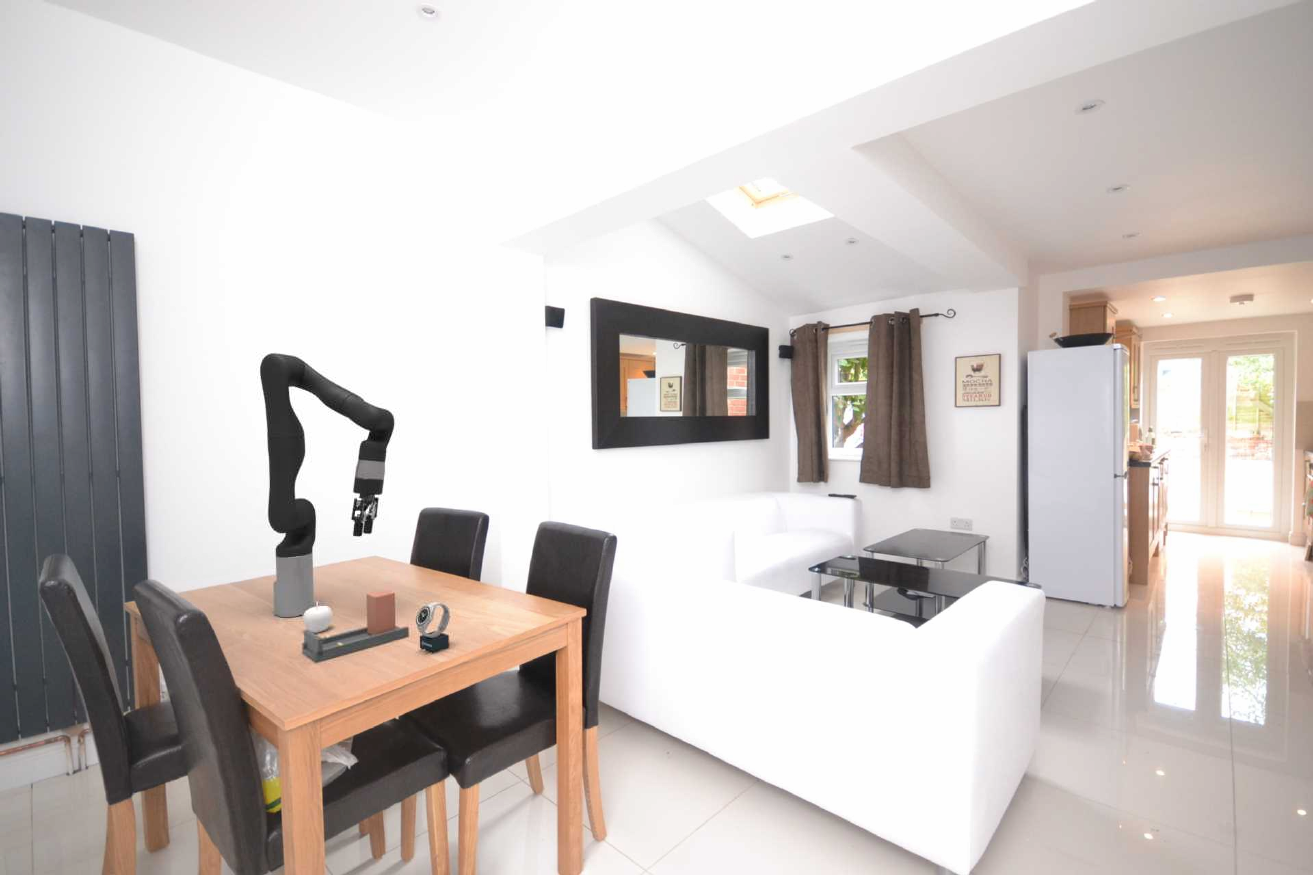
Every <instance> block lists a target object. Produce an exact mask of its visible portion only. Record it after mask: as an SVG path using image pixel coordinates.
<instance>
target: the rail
mask: <svg viewBox="0 0 1313 875" xmlns="http://www.w3.org/2000/svg"><path fill="white" fill-rule="evenodd" d="M395 628H396V629H395V630H391V631H387V632H383V633H380V634H376V635H371V634H369V633H367V626H365V627H360V628H357V629H353V630H348V631H344V632H340V633H336V634H333V635H329V634H327V635H324V637H321V636H319V635H317V633H313V632H311V631H309V630H307V629H306V630H303V641H304V642H301V653H302V654H303V655H304V656H305V657H307V658H309V659H310V660H312V662H314V663H320V662H323V661H328V660H330V659H334V658H337V657H342V656H345V655H348V654H353V653H356V652H358V651H363V650H366V649H369V648H372V647H373V648H374V647H378V646H380V645H383V644H387V643H390V642H395V641H397V640H401V639H405V638H409V637H410V634H409V633H410V630H409V628H410V627H409V626H408V625H407V626H402V627H399V626H397V625H395Z"/></svg>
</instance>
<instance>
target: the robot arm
mask: <svg viewBox="0 0 1313 875" xmlns="http://www.w3.org/2000/svg"><path fill="white" fill-rule="evenodd" d="M262 358H263V359H262V360H261V361H260V366H259V375H260V381H261V382H260V383H261V388H262V392H263V393H262V394H263V398H264V399H263V400H264V405H265V417H266V418H265V420H266V428H267V429H266V433H267V434H266V435H267V436H266V440H267V454H268V474H269V475H268V476H269V477H268V479H269V486H268V487H269V488H268V504H267V506H268V507H267V518H268V523H269V526H270V528H272V530H273V531H275V532H276V533H278V534H281V535H282V534H285V535H284V538H283V540H281V542H280V543H278V544H277V545H276V546H275V573H276V574H275V575H276V578H275V580H276V581H274V582H273V610H274V612H273V614H274V615H276V616H278V617H280V618H292V617H293V618H294V617H300V616H299V615H301V616H303V615H304V613H305V611H307V610H308V609H310V608H313V607H315V606H314V605H315V603H314V602H315V601H314V600H315V595H314V594H315V592H314V591H315V590H314V587H315V586H314V564H313V563H314V556H313V555H314V554H313V550H314V549H313V548H314V545H315V542H316V535H317V534H316V532H317V530H316V528H317V527H316V526H317V514H316V509H315V506H314V504H313V503H312V501H310V500H309V499H306V498H301V497H299V498H296V480H297V479H298V478H297V477H298V475H299V472H300V470H301V467H302V465H303V463H304V461H305V456H306V439H305V438H306V437H305V436H306V435H305V431H304V430H305V429H304V427H303V425H302V423H301V421H300V419H299V417H298V416H297V414H296V412H295V411H294V408H293V406H292V402H291V397H290V388H293V387H294V388H297V389H300V390H303V391H305V392H308V393H311V395H314V396H315V397H316V398H317V399H318V400H319V401H320V402H321V403H322V404H323V405H324V406H325V407H327V408H329V409H330V410H332V411H333V412H335V413H338V414H339V415H341V416H343V417H345V418H348V419H349V420H350V421H352V422H353V423H354V424H355V425H357V426H358V427H360V428H362V429H363V430H366V431H368V435H367V438H366V439H364V440H362V441H361V442H360V444H359V451H358V458H357V463H356V466H355V471H354V472H355V473H354V482H353V490H352V492H353V493H354V494H359V497H355V498H354V499H353V505H352V513H351V517H350V518H351V521H353V531H352V536H353V537H358V538H359V537H362V536H363V534H365V535H370V534H373V527H374V521H375V519H376V518H377V517H378V508H379V500H380V498H379V497H377V496H381V495H383V492H384V491H383V490H384V483H385V482H384V481H385V475H386V460H387V459H386V458H387V450H388V449H387V448H388V445H389V443H390V441H391V438H392V435H393V433H394V429H395V417H394V414H393V413H392V411H390V410H388V409H386V408H383V407H378V406H376V405H373V404H371V403H370V402H367V401H365V400H364V398H363V397H361V396H360V395H358V394H356V393H355V392H352V391H350V390H349V389H346V388H345V387H343V386H342V385H340V384H337V383H335V382H334V381H332V380H330V379H329V378H327V377H325V376H324V375H323V374H322V373H320V372H319V371H317V370H316V369H315V368H313V367H312V366H310V364H308V363H307V362H306V361H304V360H303V359H302V358H300V357H298V356H296V355H290V354H289V355H288V354H284V353H276V352H275V353H274V352H273V353H268V354H266V355H265V356H264V357H262Z"/></svg>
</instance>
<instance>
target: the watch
mask: <svg viewBox="0 0 1313 875" xmlns="http://www.w3.org/2000/svg"><path fill="white" fill-rule="evenodd" d="M437 606H441V608H442V609H443V612H442V616H441V618H440V622H439V625H438V626H437V630H433V631H430V632H426V631H427V629H428V626H429V625H430V624H431V623H432V622H433V621H434V617H435V610H436V609H437ZM450 613H451V611H450V609H449V606H447V605H446V604H444V603H440V602H438V601H435V602H434V601H433V602H429V603H428V604H426V605H424V606H422V607H421V608H420V609H419V611H418V612H417V614H416V617H415V624H416V627H417V630H418V632H419V633H420V634H421V635H420V636H419V649H420V648H421V649H420V650H423V649H425V650H426V652H428V653H431V652H432V654H435V653H434V652H436V653H439V652H441V651H440V650H442V649H444V650H446V648H447V649H449V648H450V636H449V634H446V633H444V632H445V631H446V629H447V627H448V625H449V622H450V618H451V614H450ZM448 647H449V648H448ZM425 650H424V651H425ZM438 651H439V652H438ZM442 651H443V650H442Z"/></svg>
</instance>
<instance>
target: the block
mask: <svg viewBox="0 0 1313 875" xmlns="http://www.w3.org/2000/svg"><path fill="white" fill-rule="evenodd" d="M395 594H396V593H395V592H392V591H390V590H388V589H383V590H378V591H373V592H369V593H366V627H367V633H369V634H371V635H376V634H380V633H383V632H387V631H391V630H395V629H396V628H395V626H396V595H395Z"/></svg>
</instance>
